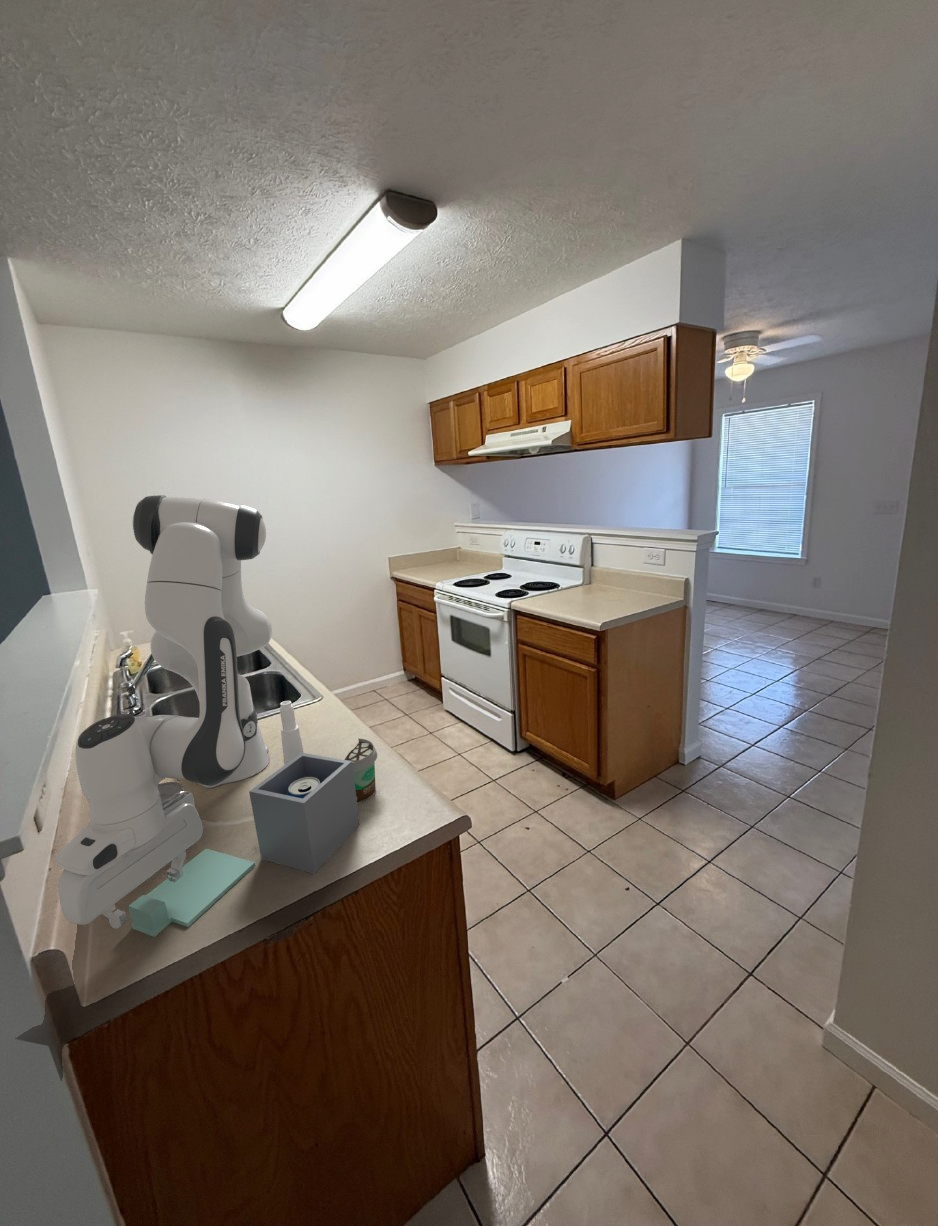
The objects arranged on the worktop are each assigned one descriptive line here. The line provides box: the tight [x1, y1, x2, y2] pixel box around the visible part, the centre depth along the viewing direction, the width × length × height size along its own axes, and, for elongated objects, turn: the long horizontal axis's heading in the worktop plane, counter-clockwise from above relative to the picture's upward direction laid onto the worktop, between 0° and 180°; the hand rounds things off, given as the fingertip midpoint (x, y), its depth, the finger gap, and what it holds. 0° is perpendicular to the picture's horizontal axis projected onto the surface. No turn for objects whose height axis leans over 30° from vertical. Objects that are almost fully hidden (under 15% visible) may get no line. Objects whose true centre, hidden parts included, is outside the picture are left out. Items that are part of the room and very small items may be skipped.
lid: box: [128, 848, 256, 938], centre depth 85 cm, size 12×17×4 cm
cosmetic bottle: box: [279, 700, 305, 766], centre depth 110 cm, size 6×6×22 cm
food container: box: [344, 738, 378, 804], centre depth 110 cm, size 12×6×10 cm, turn 168°
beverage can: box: [287, 777, 321, 799], centre depth 95 cm, size 6×6×12 cm
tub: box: [248, 752, 361, 874], centre depth 95 cm, size 12×14×14 cm
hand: (149, 900), depth 79 cm, fingers open, 8 cm apart
